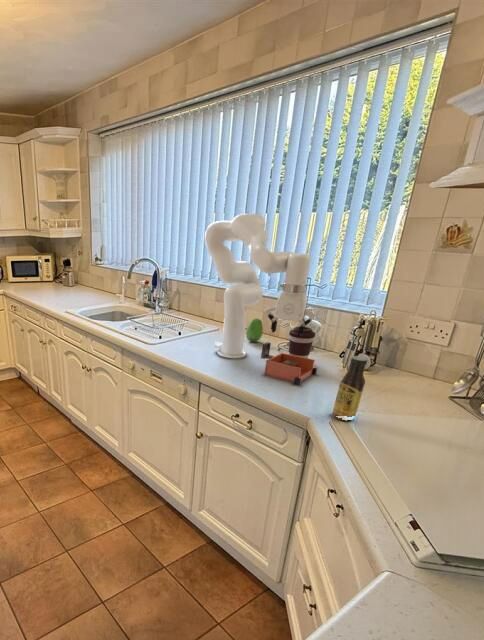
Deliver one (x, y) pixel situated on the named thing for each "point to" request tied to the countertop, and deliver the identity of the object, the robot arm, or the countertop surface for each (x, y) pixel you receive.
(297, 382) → the wheel axle
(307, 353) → the coffee cup
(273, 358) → the tub
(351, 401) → the sauce bottle
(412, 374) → the countertop surface
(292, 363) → the block
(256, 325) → the avocado
